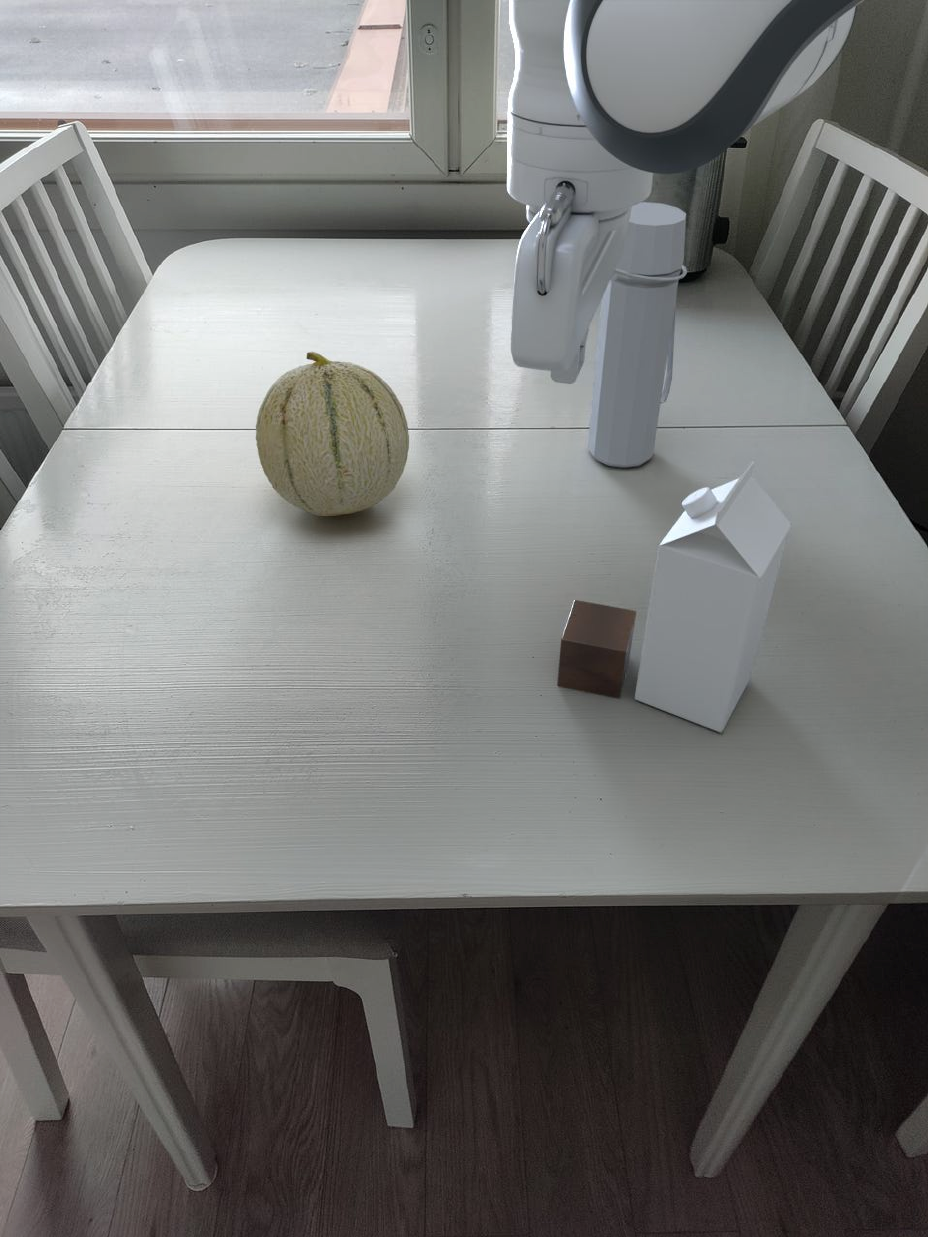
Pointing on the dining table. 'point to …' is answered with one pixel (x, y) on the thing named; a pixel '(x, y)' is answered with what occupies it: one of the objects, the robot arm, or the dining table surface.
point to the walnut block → (596, 648)
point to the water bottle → (637, 337)
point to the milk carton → (711, 601)
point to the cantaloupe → (332, 437)
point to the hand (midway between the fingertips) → (567, 374)
